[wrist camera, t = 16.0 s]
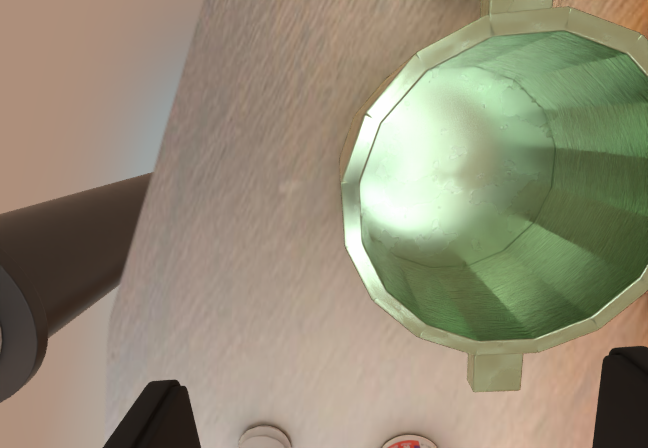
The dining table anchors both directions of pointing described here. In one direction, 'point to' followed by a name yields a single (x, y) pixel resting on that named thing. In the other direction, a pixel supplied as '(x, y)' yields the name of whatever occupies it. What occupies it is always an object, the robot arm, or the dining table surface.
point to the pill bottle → (409, 442)
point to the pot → (504, 185)
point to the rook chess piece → (264, 438)
